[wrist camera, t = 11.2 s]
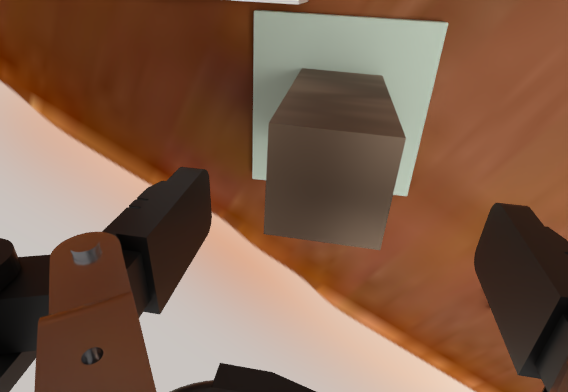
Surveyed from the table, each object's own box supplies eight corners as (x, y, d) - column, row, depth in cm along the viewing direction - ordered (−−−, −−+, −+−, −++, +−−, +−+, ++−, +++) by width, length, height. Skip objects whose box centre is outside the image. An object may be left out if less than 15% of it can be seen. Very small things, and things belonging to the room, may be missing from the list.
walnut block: (382, 75, 19) (405, 138, 11) (368, 151, 21) (379, 249, 13) (301, 68, 19) (268, 123, 11) (295, 142, 21) (263, 233, 13)
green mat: (444, 21, 18) (448, 23, 17) (405, 189, 22) (406, 196, 21) (257, 9, 19) (254, 10, 18) (255, 173, 23) (252, 178, 22)
